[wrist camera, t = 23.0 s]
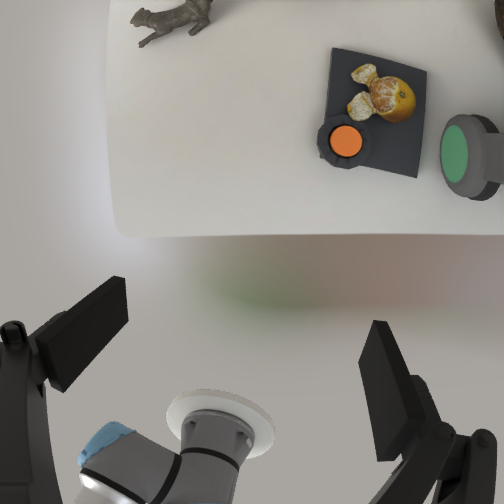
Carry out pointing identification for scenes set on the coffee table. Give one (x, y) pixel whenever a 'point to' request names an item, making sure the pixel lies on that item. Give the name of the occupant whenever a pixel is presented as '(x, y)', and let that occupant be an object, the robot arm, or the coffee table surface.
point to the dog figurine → (173, 19)
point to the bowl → (500, 15)
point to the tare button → (346, 141)
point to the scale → (373, 117)
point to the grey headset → (472, 156)
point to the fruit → (381, 97)
